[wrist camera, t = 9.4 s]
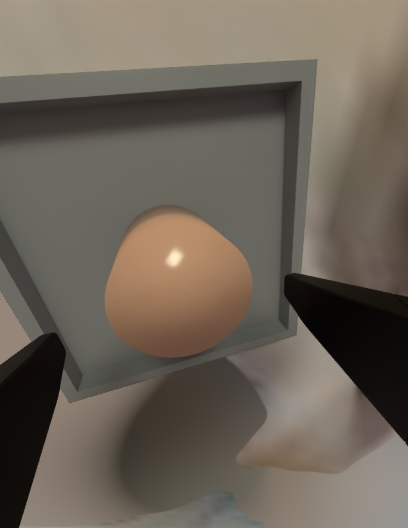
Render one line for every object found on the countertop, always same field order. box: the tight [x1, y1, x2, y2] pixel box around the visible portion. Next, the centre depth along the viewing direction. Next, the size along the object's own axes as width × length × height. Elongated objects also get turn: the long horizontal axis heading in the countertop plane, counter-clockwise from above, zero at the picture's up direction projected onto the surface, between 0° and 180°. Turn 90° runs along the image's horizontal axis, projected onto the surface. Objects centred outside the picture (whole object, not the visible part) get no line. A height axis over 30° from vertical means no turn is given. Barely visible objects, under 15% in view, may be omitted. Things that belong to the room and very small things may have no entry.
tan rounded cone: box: [105, 205, 253, 358], centre depth 11 cm, size 6×6×6 cm
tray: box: [0, 59, 317, 403], centre depth 14 cm, size 18×18×2 cm
